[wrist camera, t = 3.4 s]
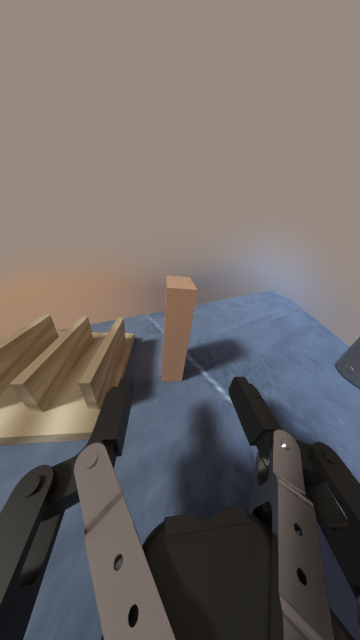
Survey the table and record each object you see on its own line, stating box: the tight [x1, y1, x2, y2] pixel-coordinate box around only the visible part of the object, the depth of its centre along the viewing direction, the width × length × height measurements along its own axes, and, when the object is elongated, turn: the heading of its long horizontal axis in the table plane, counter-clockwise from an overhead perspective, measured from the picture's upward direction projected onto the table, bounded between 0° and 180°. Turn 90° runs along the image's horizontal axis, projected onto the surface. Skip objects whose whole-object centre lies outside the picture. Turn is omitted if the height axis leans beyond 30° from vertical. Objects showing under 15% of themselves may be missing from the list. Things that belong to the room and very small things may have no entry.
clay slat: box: [162, 276, 197, 381], centre depth 19 cm, size 3×5×14 cm, turn 5°
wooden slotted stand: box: [0, 315, 135, 445], centre depth 19 cm, size 14×16×6 cm
